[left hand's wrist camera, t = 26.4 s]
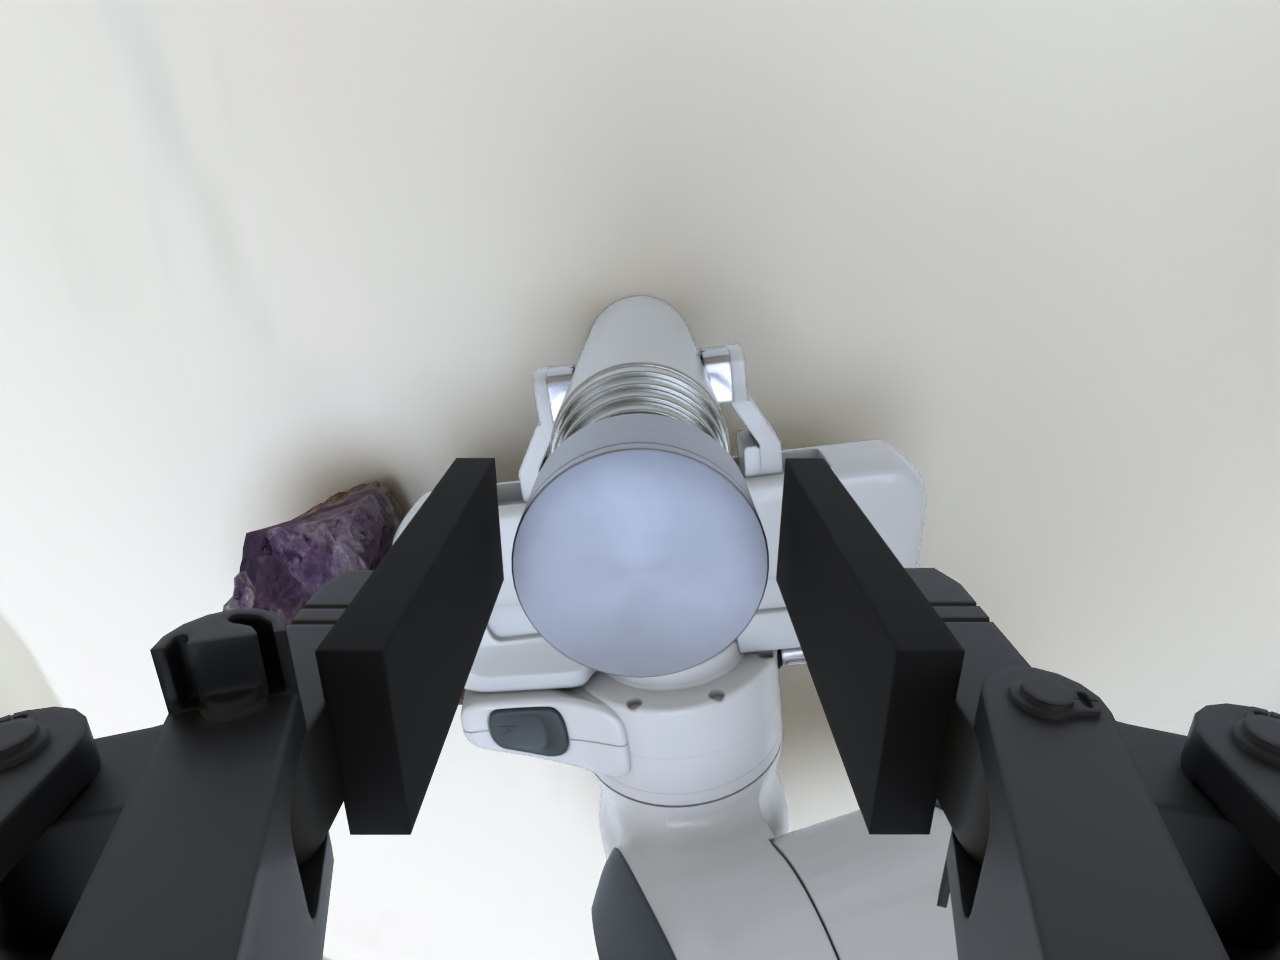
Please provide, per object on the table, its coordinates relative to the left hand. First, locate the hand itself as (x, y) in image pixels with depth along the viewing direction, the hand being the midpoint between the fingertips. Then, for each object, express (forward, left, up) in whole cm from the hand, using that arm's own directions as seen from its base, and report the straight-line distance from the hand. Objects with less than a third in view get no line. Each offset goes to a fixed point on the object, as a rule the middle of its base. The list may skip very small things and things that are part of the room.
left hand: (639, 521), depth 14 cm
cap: (0, 0, +2) cm, 2 cm away
